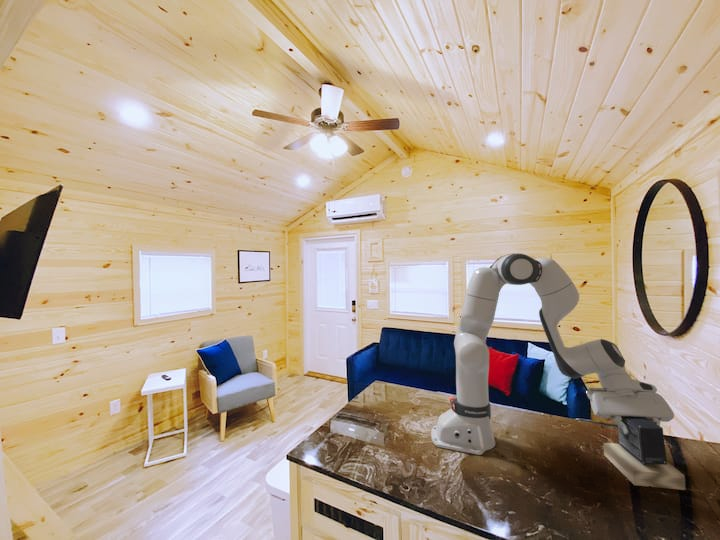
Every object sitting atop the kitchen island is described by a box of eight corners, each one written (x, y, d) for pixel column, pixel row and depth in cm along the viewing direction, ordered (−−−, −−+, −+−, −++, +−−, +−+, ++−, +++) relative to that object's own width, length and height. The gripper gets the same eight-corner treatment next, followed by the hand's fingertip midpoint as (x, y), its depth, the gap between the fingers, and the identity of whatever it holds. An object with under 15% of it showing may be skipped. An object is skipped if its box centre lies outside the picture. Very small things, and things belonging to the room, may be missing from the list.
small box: (670, 465, 82) (664, 427, 83) (643, 465, 84) (638, 427, 84) (641, 444, 93) (636, 411, 93) (618, 444, 94) (613, 411, 94)
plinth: (634, 485, 83) (633, 470, 83) (604, 454, 96) (603, 442, 96) (685, 490, 80) (684, 475, 80) (646, 458, 94) (646, 445, 94)
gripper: (587, 383, 97) (607, 428, 87) (660, 385, 92) (690, 433, 83) (580, 391, 101) (599, 435, 91) (650, 394, 97) (678, 440, 87)
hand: (643, 434), depth 87 cm, fingers closed on small box, 6 cm apart
